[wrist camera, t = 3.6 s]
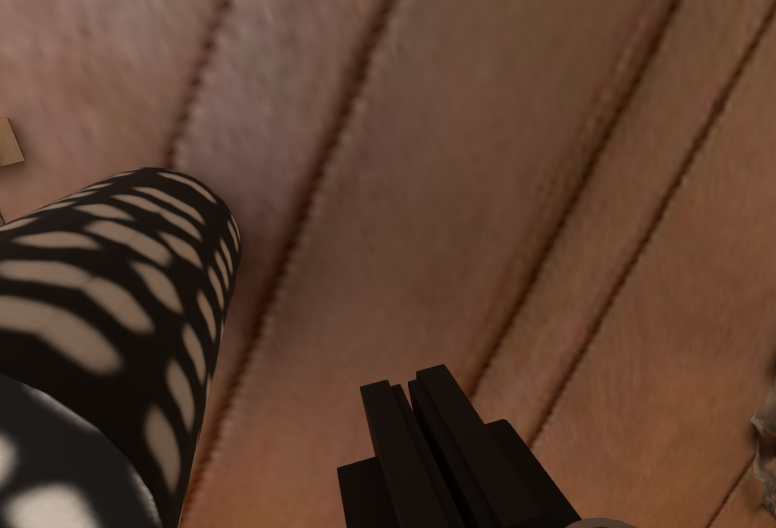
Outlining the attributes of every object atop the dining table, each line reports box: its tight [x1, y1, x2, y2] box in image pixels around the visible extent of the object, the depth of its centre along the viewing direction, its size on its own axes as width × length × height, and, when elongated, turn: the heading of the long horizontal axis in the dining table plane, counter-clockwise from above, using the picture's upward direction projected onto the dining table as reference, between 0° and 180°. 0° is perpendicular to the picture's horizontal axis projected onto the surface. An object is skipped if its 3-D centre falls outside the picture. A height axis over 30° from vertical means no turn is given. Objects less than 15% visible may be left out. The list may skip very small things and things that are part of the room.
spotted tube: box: [0, 167, 241, 528], centre depth 18 cm, size 8×8×20 cm
